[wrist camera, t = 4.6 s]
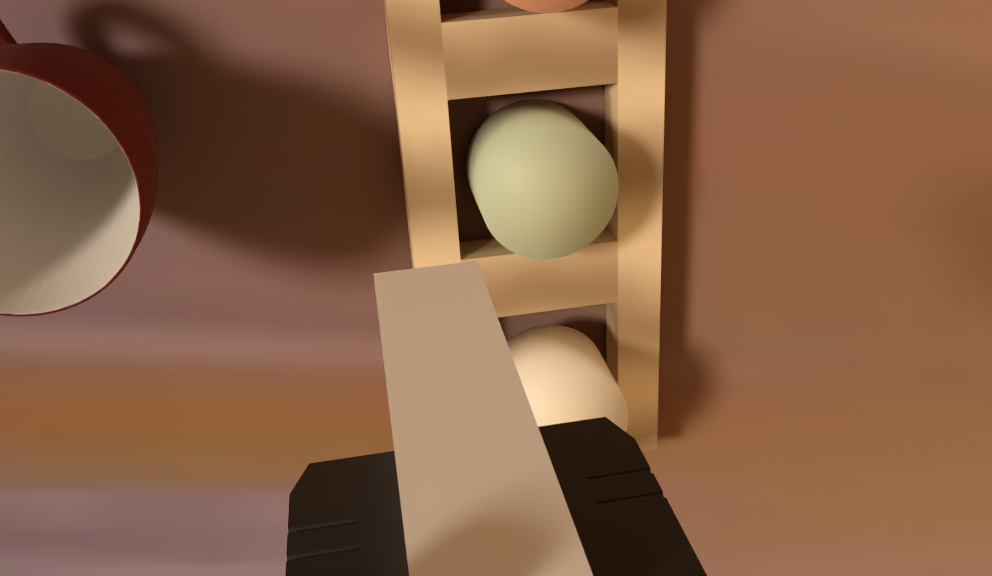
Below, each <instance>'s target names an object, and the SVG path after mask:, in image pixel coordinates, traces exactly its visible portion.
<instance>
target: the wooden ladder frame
mask: <svg viewBox="0 0 992 576" xmlns="http://www.w3.org/2000/svg"><path fill="white" fill-rule="evenodd" d="M384 6H385V16H386V25H387V34H388V44H389V53H390V62H391V71H392V81H393V90H394V99H395V109H396V118H397V127H398V137H399V146H400V155H401V165H402V174H403V183H404V192H405V202H406V211H407V220H408V230H409V239H410V248H411V258H412V267H413V269H415V268H423V267H431V266H439V265H447V264H455V263H463V262H471V261H477V263H478V266H479V268H480V271H481V274H482V276H483V279H484V282H485V285H486V287H487V290H488V293H489V295H490V298H491V301H492V303H493V306H494V309H495V312H496V314H497V317H506V316H514V315H521V314H529V313H537V312H544V311H552V310H560V309H567V308H575V307H583V306H590V305H598V304H606V340H607V366H608V368H609V370H610V372H611V374H612V376H613V377H614V379H615V381H616V383H617V385H618V387H619V388H620V390H621V392H622V394H623V396H624V398H625V400H626V403H627V407H628V415H629V418H628V426H627V431H626V433H628V434H629V435H630V436H632V437H633V438H635V440H636V442H637V444H638V446H639V447H640V449H641V451H649V450H656V449H657V433H658V386H659V340H660V293H661V247H662V200H663V154H664V107H665V61H666V14H667V0H594V1H586V2H585V3H583V4H581V5H579V6H577V7H574V8H572V9H568V10H565V11H561V12H555V13H538V12H531V11H527V10H523V9H520V8H518V7H515V8H504V9H493V10H481V11H470V12H459V13H447V14H440V4H439V0H384ZM603 84H605V148H606V150H607V151H608V152H609V154H610V155H611V157H612V159H613V161H614V164H615V167H616V169H617V174H618V181H619V192H618V199H617V204H616V207H615V210H614V213H613V215H612V217H611V219H610V221H609V222H608V224H607V226H606V227H605V229H604V230H603V231H602V232H601V233H600V235H599V236H598V237H597V238H595V239H594V240H593V241H592V242H591V243H590V244H588V245H587V246H586V247H584V248H582V249H581V250H579V251H577V252H575V253H572V254H570V255H567V256H564V257H561V258H555V259H545V260H543V259H532V258H527V257H524V256H521V255H518V254H516V253H514V252H512V251H510V250H508V249H507V248H505V247H504V246H503V245H501V244H500V243H499V242H498V241H497V240H496V239H495V238H490V239H481V240H473V241H465V242H459V235H458V223H457V210H456V198H455V186H454V174H453V162H452V150H451V138H450V125H449V113H448V101H447V100H453V99H463V98H473V97H483V96H493V95H503V94H513V93H523V92H533V91H543V90H553V89H563V88H573V87H583V86H593V85H603Z"/></svg>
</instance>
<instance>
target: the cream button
mask: <svg viewBox="0 0 992 576" xmlns="http://www.w3.org/2000/svg"><path fill="white" fill-rule="evenodd" d="M507 344H508V347H509V349H510V352H511V355H512V358H513V360H514V363H515V366H516V368H517V371H518V374H519V376H520V379H521V382H522V385H523V387H524V390H525V393H526V395H527V398H528V401H529V404H530V406H531V409H532V412H533V414H534V417H535V420H536V422H537V425H538V427H540V426H546V425H553V424H560V423H567V422H573V421H580V420H587V419H594V418H600V417H606V418H608V419H609V420H610V421H612V422H613V423H614V424H616V425H617V426H618V427H620V428H621V429H622V430H624V431H625V432H626V431H627V426H628V418H629V415H628V407H627V403H626V400H625V398H624V396H623V394H622V392H621V390H620V388H619V387H618V385H617V383H616V381H615V379H614V377H613V376H612V374H611V372H610V370H609V368H608V366H607V365H606V363H605V361H604V359H603V357H602V355H601V354H600V352H599V350H598V348H597V347H596V345H595V344H594V343H593V342H592V340H591V339H589V338H588V337H587V336H586V335H584V334H583V333H581V332H580V331H577V330H575V329H573V328H570V327H566V326H561V325H543V326H538V327H533V328H530V329H527V330H525V331H523V332H520V333H519V334H517V335H515V336H514V337H512V338H511V339H510V340H508V341H507Z"/></svg>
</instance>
